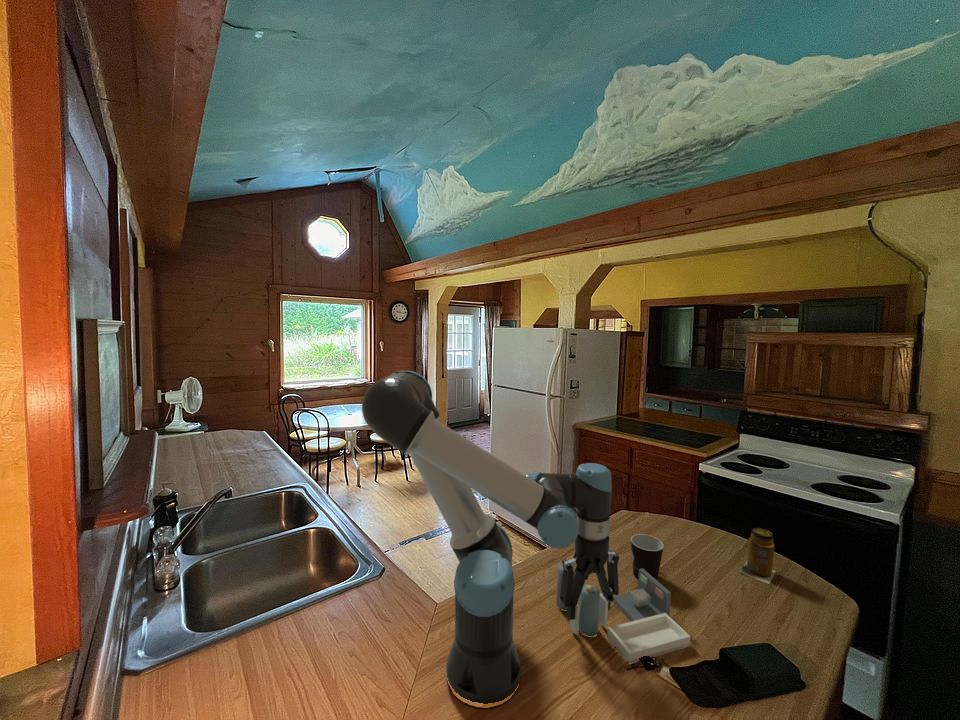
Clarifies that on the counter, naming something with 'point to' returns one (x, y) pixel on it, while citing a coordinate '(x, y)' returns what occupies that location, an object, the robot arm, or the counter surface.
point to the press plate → (640, 597)
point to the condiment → (760, 556)
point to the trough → (648, 637)
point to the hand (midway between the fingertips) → (588, 626)
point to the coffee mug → (646, 554)
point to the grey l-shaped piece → (658, 599)
